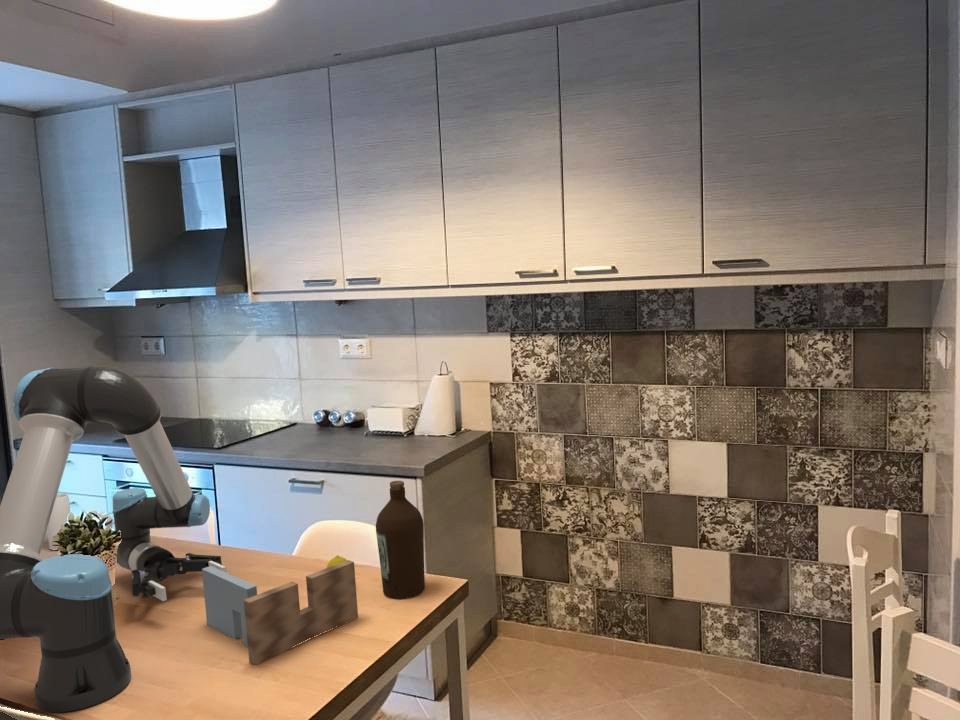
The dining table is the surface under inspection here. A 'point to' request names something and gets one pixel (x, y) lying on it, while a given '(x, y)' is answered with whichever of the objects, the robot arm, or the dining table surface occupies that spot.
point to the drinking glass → (58, 516)
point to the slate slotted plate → (226, 602)
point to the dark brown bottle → (401, 546)
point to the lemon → (336, 561)
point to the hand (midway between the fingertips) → (195, 583)
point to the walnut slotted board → (299, 611)
